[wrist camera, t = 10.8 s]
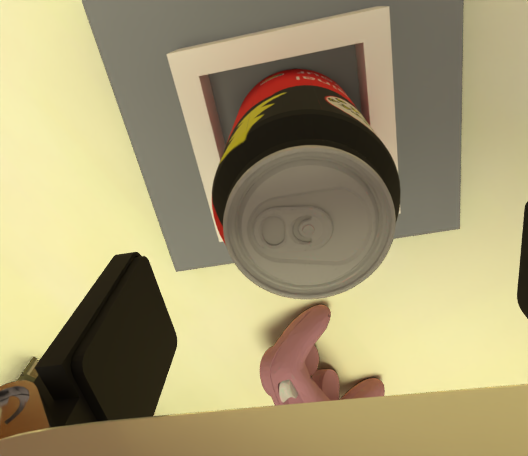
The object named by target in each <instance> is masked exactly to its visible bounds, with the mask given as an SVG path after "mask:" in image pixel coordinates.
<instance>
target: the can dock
mask: <svg viewBox="0 0 528 456" xmlns="http://www.w3.org/2000/svg"><path fill="white" fill-rule="evenodd" d="M82 3H83V6H84V9H85V12H86V15H87V17H88V20H89V23H90V26H91V29H92V32H93V35H94V38H95V40H96V43H97V46H98V49H99V52H100V55H101V58H102V60H103V63H104V66H105V69H106V72H107V75H108V78H109V81H110V83H111V86H112V89H113V92H114V95H115V98H116V101H117V104H118V106H119V109H120V112H121V115H122V118H123V121H124V124H125V127H126V129H127V132H128V135H129V138H130V141H131V144H132V147H133V150H134V152H135V155H136V158H137V161H138V164H139V167H140V170H141V173H142V175H143V178H144V181H145V184H146V187H147V190H148V193H149V195H150V198H151V201H152V204H153V207H154V210H155V213H156V216H157V218H158V221H159V224H160V227H161V230H162V233H163V236H164V239H165V241H166V244H167V247H168V250H169V253H170V256H171V259H172V262H173V264H174V267H175V270H176V272H178V271H184V270H191V269H197V268H204V267H210V266H217V265H224V264H230V263H234V262H233V260H232V258H231V256H230V254H229V252H228V250H227V247H226V245H225V243H224V241H223V240H222V238H221V236H220V234H219V231H218V229H217V226H216V223H215V219H214V215H213V210H212V186H213V181H214V177H215V174H216V171H217V168H218V165H219V163H220V160H221V157H222V155H223V152H224V149H225V147H226V144H227V141H228V139H229V136H230V133H231V131H232V128H233V125H234V123H235V120H236V117H237V115H238V112H239V109H240V107H241V105H242V103H243V101H244V99H245V97H246V96H247V95H248V93H249V92H250V91H251V90H252V89H253V88H254V87H255V86H256V85H257V84H258V83H259V82H261V81H262V80H263V79H265V78H267V77H268V76H270V75H272V74H275V73H277V72H280V71H285V70H291V69H305V70H311V71H315V72H318V73H321V74H323V75H325V76H327V77H329V78H330V79H332V80H333V81H335V82H336V83H337V84H338V85H339V86H340V87H341V88H342V89H343V90H344V92H345V93H346V94H347V96H348V97H349V98H350V100H351V101H352V102H353V104H354V105H355V106H356V108H357V109H358V110H359V112H360V113H361V114H362V116H363V117H364V118H365V120H366V121H367V122H368V124H369V125H370V126H371V128H372V129H373V130H374V132H375V133H376V134H377V136H378V137H379V138H380V140H381V141H382V142H383V144H384V145H385V147H386V148H387V149H388V151H389V153H390V154H391V156H392V158H393V160H394V163H395V165H396V168H397V171H398V175H399V180H400V189H401V194H400V208H399V214H398V218H397V221H396V224H395V233H394V237H393V239H395V238H402V237H408V236H415V235H421V234H428V233H435V232H441V231H448V230H454V229H460V183H461V122H462V61H463V0H82Z"/></svg>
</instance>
